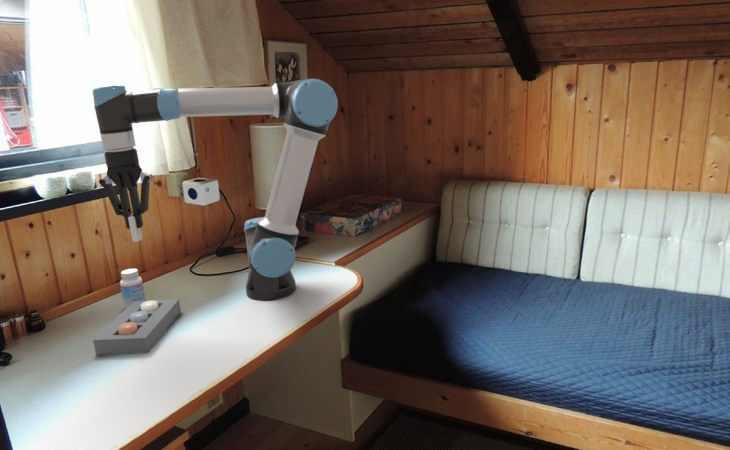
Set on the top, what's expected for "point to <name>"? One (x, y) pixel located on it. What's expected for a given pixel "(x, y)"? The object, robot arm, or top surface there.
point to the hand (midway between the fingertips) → (137, 240)
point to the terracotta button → (127, 328)
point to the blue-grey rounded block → (139, 316)
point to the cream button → (149, 306)
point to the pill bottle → (131, 287)
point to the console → (146, 332)
